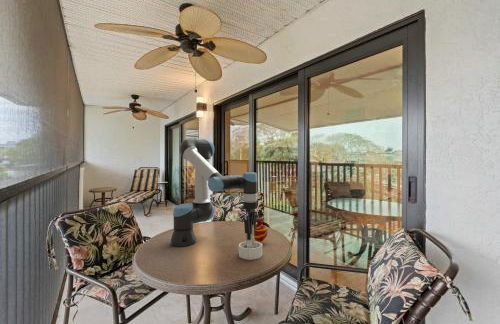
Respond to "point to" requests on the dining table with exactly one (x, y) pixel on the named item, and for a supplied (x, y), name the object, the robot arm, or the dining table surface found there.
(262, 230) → the potion bottle
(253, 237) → the cream rectangular box
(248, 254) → the white round bowl
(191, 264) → the dining table surface
